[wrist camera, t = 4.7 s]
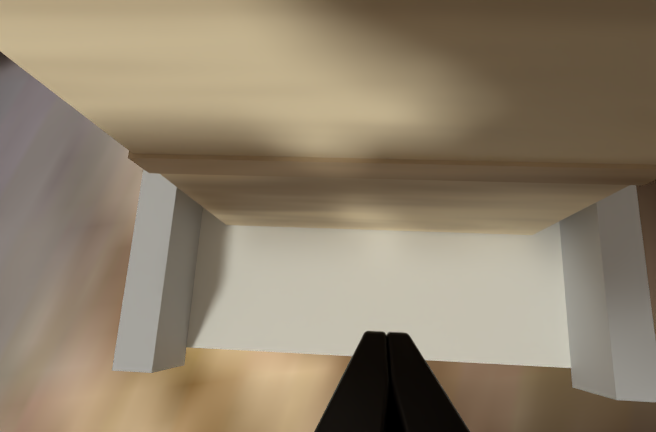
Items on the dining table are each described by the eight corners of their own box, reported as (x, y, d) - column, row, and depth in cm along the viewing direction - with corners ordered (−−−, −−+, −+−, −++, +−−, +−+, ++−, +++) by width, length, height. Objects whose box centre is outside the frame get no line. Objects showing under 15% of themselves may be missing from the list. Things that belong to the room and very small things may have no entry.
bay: (603, 386, 15) (738, 418, 10) (155, 360, 16) (57, 377, 11) (561, -58, 20) (637, -200, 14) (210, -53, 21) (159, -183, 15)
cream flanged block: (538, 240, 15) (1354, -138, 3) (220, 230, 16) (-252, -99, 4) (527, 77, 17) (1023, -640, 4) (237, 75, 18) (-54, -534, 5)
